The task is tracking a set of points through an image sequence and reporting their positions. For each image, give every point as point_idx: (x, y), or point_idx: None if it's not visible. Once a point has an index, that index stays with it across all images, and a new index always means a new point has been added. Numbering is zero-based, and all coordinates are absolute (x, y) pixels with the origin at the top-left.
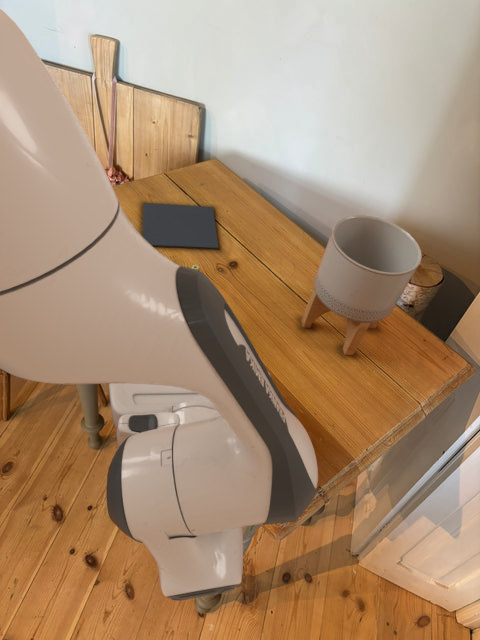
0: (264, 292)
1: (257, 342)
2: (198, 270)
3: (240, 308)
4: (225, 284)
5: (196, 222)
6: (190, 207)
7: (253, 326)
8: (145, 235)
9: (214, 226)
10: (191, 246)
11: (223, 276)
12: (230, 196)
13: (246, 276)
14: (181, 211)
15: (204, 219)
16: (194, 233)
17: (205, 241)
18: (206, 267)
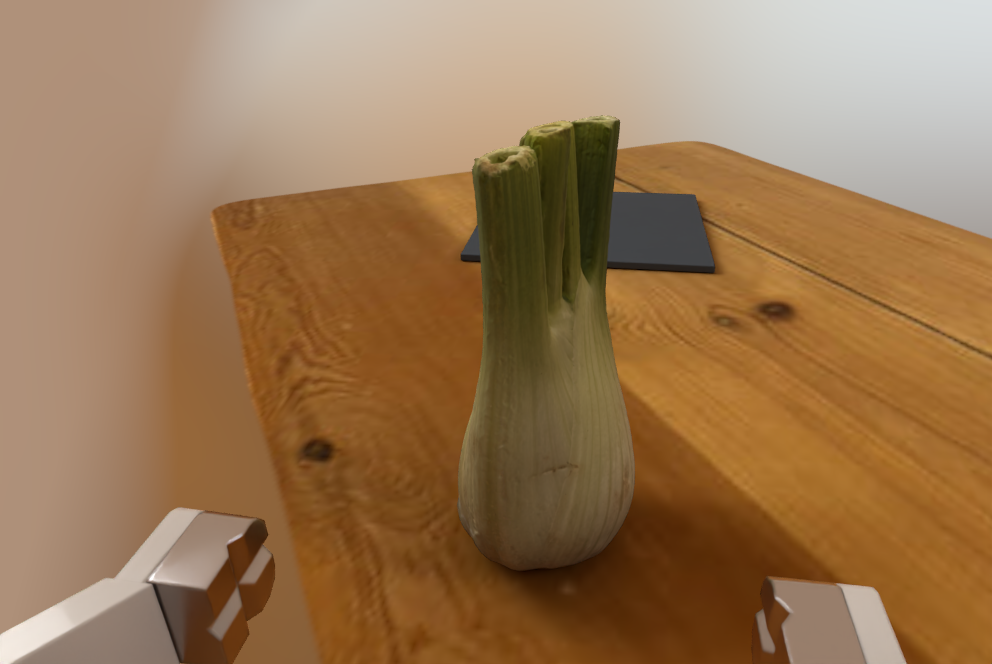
0: (938, 397)
1: (986, 632)
2: (613, 131)
3: (834, 449)
4: (749, 362)
5: (642, 218)
6: (627, 195)
7: (929, 536)
8: (478, 238)
9: (700, 225)
10: (620, 261)
11: (739, 339)
12: (746, 182)
13: (837, 343)
14: None
15: (668, 213)
16: (633, 237)
17: (669, 252)
18: (670, 313)
